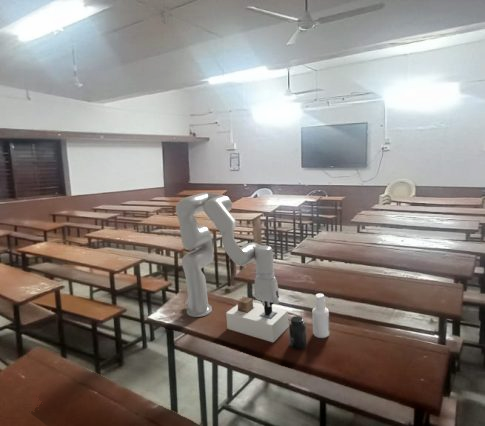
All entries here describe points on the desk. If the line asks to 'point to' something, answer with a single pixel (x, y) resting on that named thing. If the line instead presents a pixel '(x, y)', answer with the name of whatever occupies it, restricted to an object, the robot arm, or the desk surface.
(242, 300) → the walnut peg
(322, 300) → the spray bottle
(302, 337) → the supplement bottle
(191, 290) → the robot arm
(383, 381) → the desk surface
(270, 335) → the peg board
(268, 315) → the slate peg
